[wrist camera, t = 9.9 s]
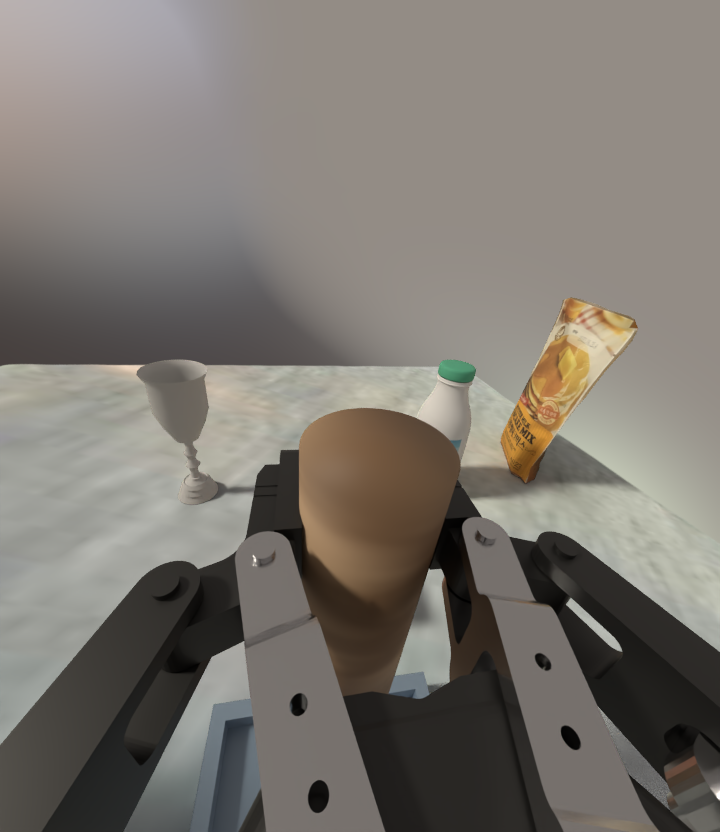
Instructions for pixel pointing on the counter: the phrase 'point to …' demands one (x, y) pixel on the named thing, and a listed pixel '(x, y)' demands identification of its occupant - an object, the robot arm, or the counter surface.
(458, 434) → the milk bottle
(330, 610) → the walnut dowel
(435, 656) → the counter surface
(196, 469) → the chalice
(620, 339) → the pancake mix bag
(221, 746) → the slate tray
